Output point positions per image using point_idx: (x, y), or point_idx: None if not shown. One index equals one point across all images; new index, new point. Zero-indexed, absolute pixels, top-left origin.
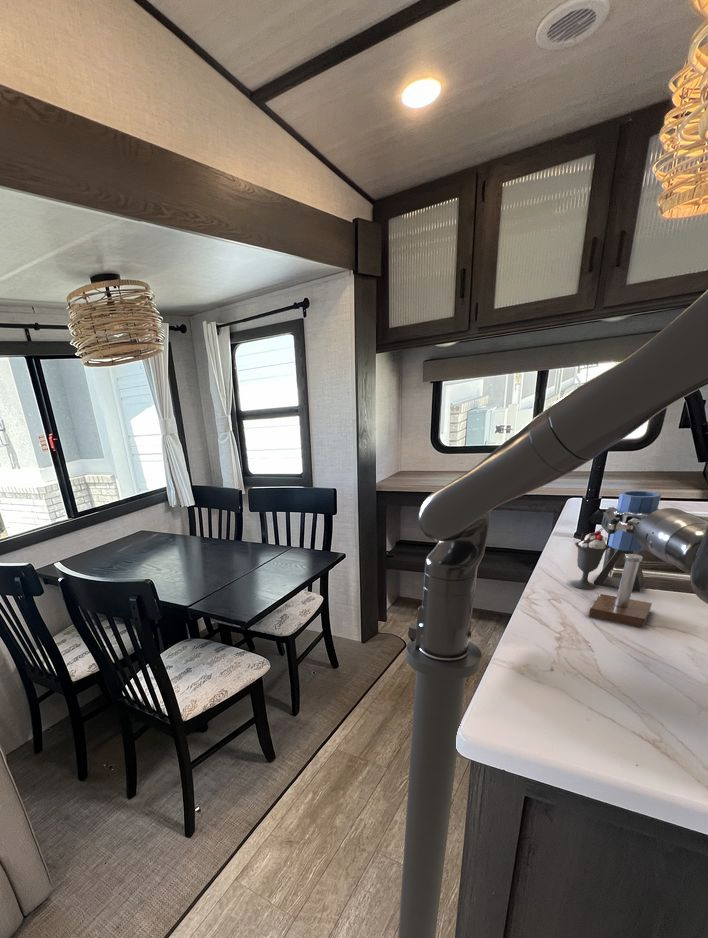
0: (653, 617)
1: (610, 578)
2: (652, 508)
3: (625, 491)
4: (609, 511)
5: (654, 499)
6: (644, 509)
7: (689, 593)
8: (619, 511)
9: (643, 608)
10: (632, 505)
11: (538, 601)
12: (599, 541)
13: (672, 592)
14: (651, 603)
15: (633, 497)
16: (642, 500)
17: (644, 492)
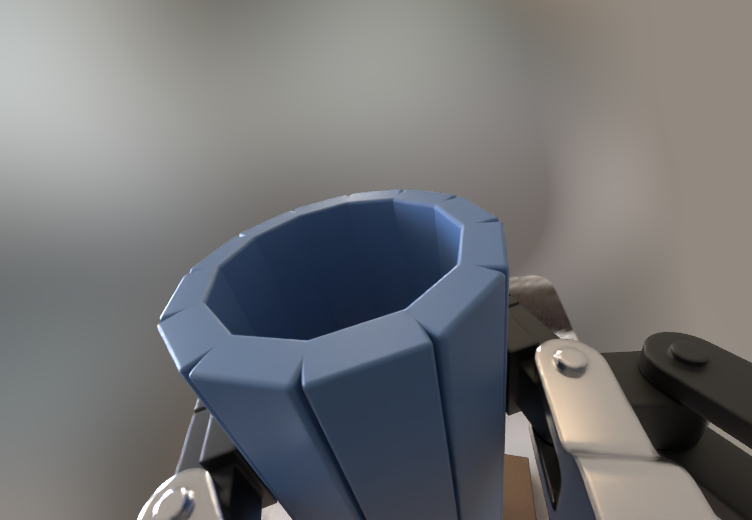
0: (546, 512)
1: None
2: (472, 421)
3: (265, 223)
4: (202, 407)
5: (464, 350)
6: (395, 478)
7: (560, 334)
8: (182, 510)
9: (520, 516)
10: (260, 449)
11: (279, 510)
12: None
13: None
14: (528, 461)
15: (203, 383)
16: (317, 418)
17: (382, 205)
